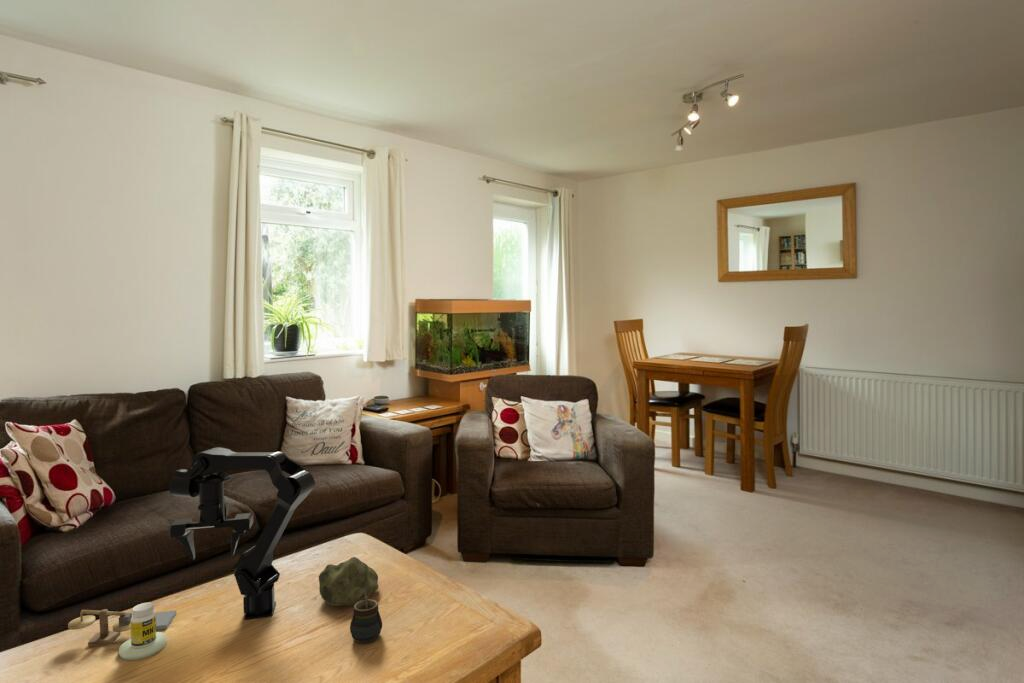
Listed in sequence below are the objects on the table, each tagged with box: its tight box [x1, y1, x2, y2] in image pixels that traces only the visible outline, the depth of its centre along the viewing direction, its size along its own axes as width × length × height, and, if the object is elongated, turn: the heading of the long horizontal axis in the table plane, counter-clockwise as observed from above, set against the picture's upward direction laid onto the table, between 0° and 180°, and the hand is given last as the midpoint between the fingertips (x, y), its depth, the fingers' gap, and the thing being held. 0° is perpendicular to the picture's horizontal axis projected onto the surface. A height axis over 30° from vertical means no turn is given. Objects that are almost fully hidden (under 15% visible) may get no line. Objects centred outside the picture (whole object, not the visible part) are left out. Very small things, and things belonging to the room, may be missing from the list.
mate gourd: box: [349, 589, 383, 644], centre depth 131 cm, size 7×8×10 cm
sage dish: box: [118, 631, 168, 661], centre depth 127 cm, size 9×9×1 cm
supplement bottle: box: [130, 601, 157, 648], centre depth 127 cm, size 5×5×8 cm
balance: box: [67, 608, 133, 648], centre depth 130 cm, size 14×5×8 cm, turn 105°
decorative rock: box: [318, 556, 379, 607], centre depth 150 cm, size 15×16×10 cm
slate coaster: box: [155, 609, 177, 631], centre depth 137 cm, size 7×7×1 cm
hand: (213, 557), depth 145 cm, fingers open, 9 cm apart
